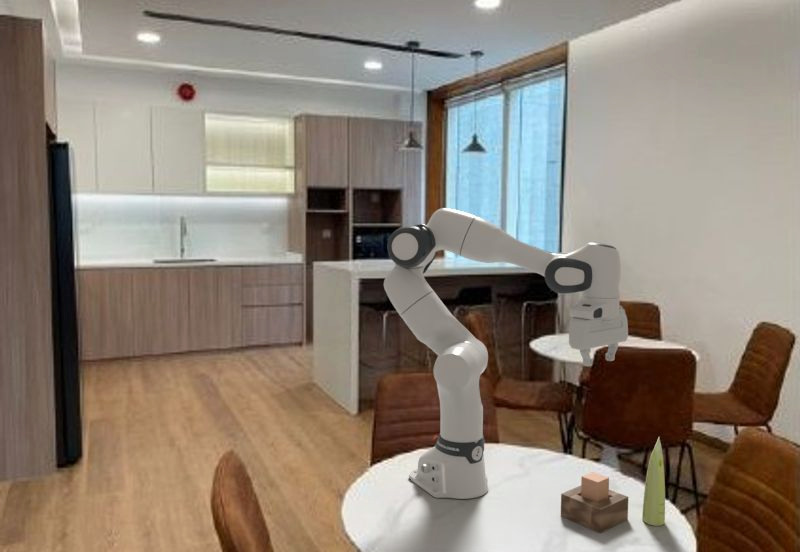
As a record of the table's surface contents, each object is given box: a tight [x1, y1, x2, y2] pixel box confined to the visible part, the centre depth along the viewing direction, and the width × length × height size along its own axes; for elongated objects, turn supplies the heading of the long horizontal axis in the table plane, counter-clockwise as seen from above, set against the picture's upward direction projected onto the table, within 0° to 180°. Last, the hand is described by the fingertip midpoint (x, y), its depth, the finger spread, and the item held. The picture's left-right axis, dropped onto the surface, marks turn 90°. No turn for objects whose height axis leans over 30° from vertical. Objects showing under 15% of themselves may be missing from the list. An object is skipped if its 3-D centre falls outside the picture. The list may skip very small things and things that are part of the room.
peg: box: [580, 471, 610, 503], centre depth 155 cm, size 4×4×9 cm
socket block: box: [560, 485, 629, 534], centre depth 156 cm, size 11×11×6 cm
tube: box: [641, 437, 666, 527], centre depth 153 cm, size 6×5×20 cm
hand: (598, 363), depth 163 cm, fingers open, 8 cm apart
